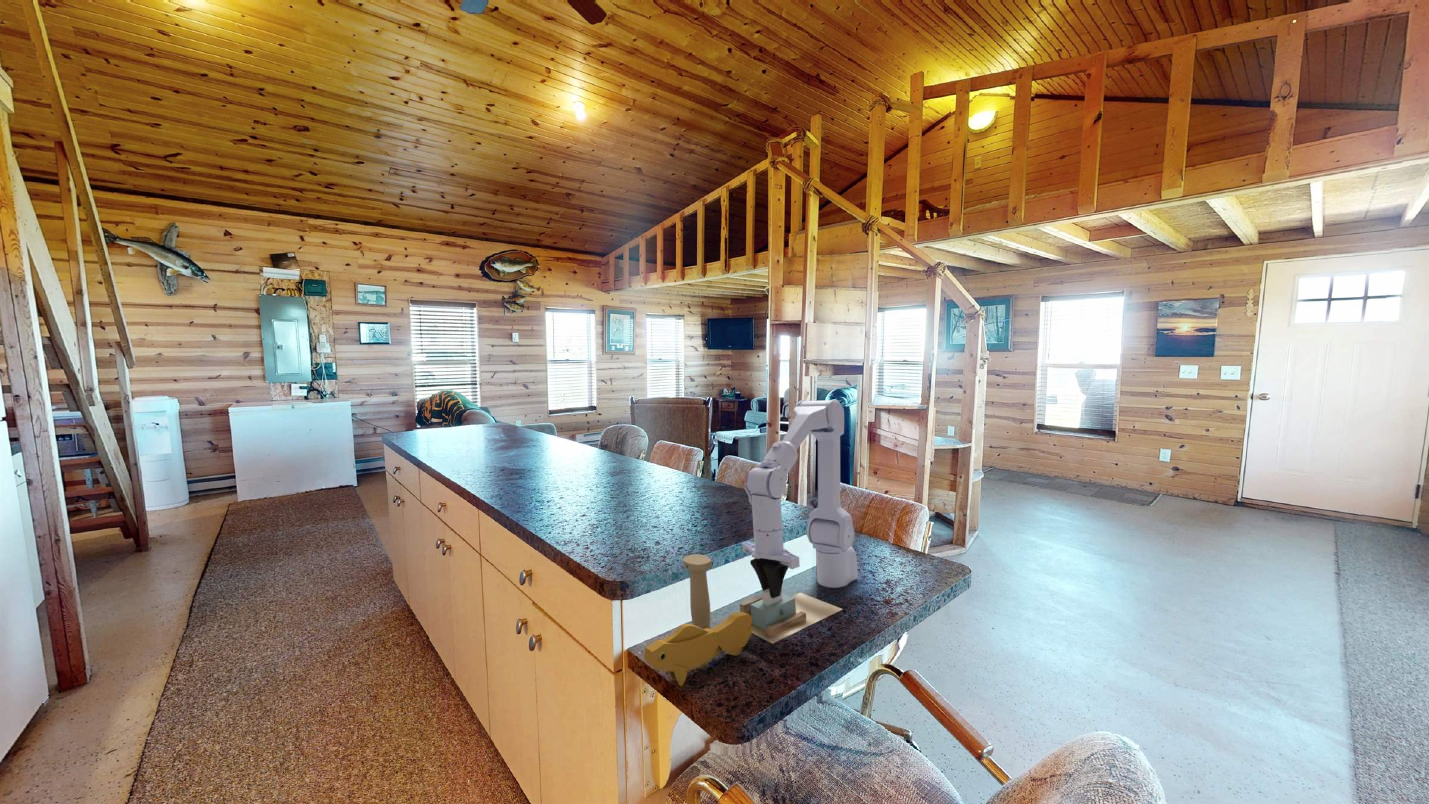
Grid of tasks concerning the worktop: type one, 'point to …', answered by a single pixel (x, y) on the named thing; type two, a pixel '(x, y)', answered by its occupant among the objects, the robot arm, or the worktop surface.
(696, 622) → the handle
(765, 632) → the cleat board
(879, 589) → the worktop surface
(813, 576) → the worktop surface
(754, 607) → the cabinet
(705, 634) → the decorative fish
